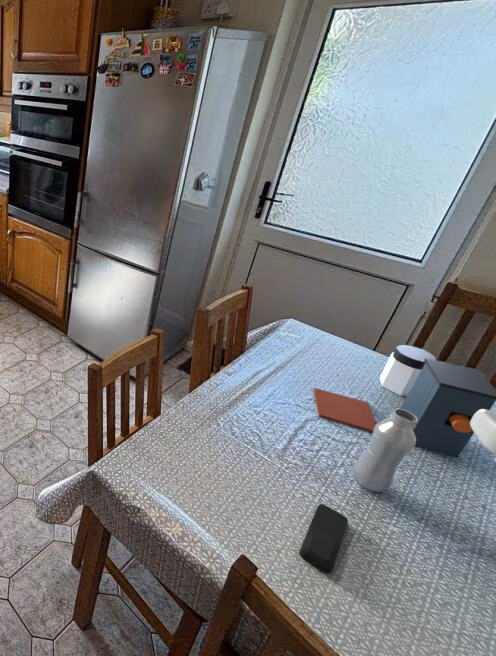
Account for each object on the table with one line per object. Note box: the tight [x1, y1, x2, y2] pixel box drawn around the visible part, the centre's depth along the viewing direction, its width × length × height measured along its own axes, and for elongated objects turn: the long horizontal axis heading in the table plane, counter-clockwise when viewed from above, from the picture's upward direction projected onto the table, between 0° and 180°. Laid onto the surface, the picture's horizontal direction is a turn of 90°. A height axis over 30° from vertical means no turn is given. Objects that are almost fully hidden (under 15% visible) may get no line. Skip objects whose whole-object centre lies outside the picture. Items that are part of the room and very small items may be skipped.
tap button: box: [449, 414, 472, 433], centre depth 94 cm, size 3×2×3 cm
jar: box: [379, 344, 437, 397], centre depth 116 cm, size 9×8×12 cm
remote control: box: [298, 503, 349, 575], centre depth 80 cm, size 5×2×15 cm
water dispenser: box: [399, 358, 496, 458], centre depth 99 cm, size 10×11×19 cm
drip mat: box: [313, 387, 377, 433], centre depth 111 cm, size 12×12×1 cm
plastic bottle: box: [351, 408, 418, 493], centre depth 87 cm, size 6×7×20 cm
